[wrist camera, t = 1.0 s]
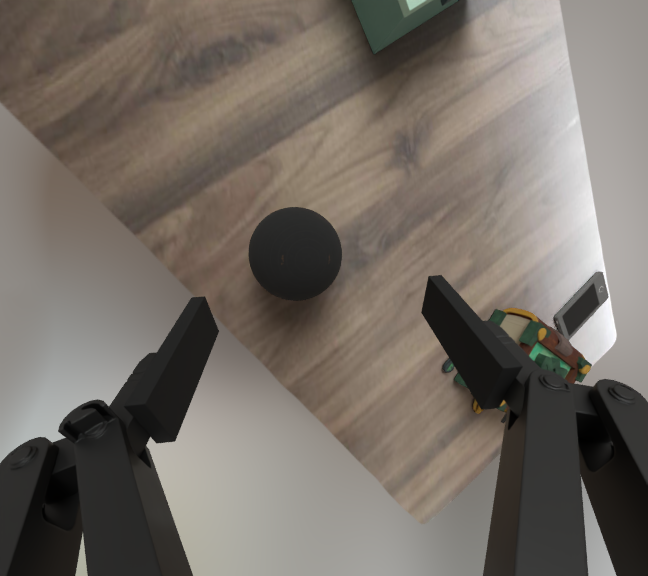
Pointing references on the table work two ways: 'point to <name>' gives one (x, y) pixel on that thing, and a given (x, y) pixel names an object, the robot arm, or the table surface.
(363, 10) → the box
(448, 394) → the table surface
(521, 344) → the book
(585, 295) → the smartphone
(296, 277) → the speaker
